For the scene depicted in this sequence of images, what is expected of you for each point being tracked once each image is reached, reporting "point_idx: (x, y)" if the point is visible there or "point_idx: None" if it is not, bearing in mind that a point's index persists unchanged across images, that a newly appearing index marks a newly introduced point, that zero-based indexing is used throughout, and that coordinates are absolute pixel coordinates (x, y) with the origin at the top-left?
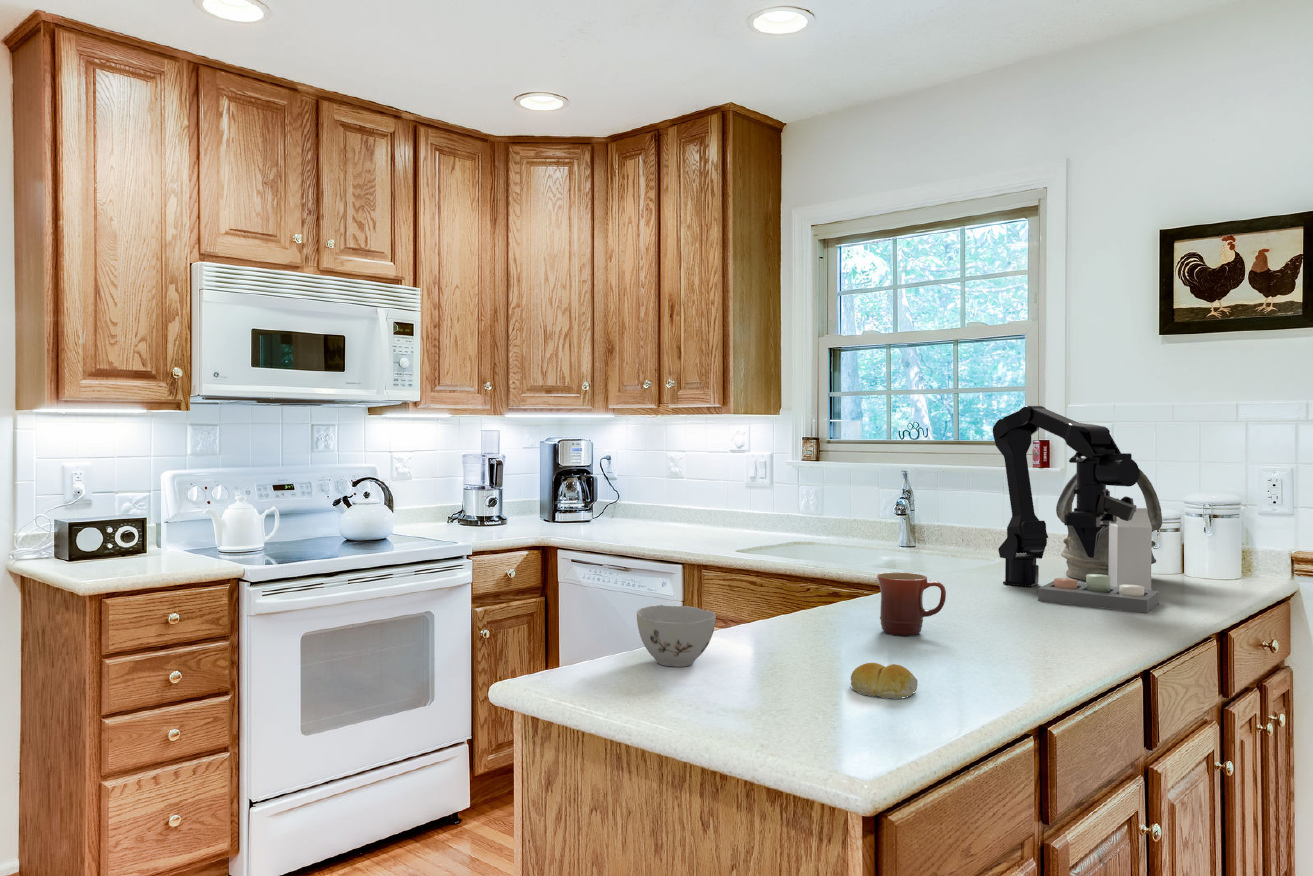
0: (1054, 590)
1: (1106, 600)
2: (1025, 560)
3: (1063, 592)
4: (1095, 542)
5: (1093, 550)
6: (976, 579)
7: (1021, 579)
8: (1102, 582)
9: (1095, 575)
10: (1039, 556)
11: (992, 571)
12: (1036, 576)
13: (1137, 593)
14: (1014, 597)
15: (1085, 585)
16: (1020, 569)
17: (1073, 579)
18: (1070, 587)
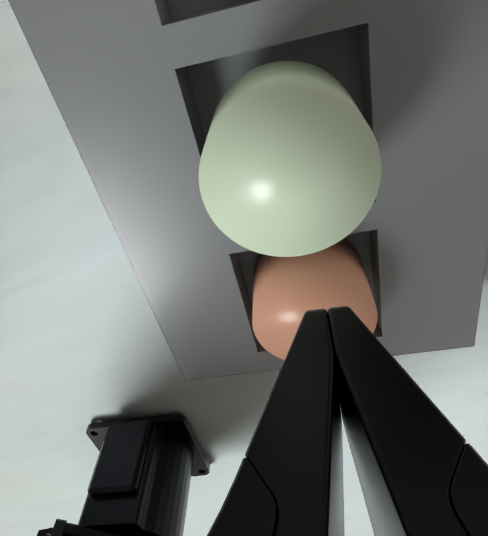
0: (481, 285)
1: None
2: (157, 531)
3: (483, 243)
4: (472, 450)
5: (391, 362)
6: (190, 516)
7: (181, 456)
8: (355, 104)
9: (288, 202)
10: (67, 532)
11: (29, 532)
12: (129, 445)
13: None
14: (434, 375)
15: (191, 251)
16: (178, 497)
17: (266, 305)
18: (355, 265)
